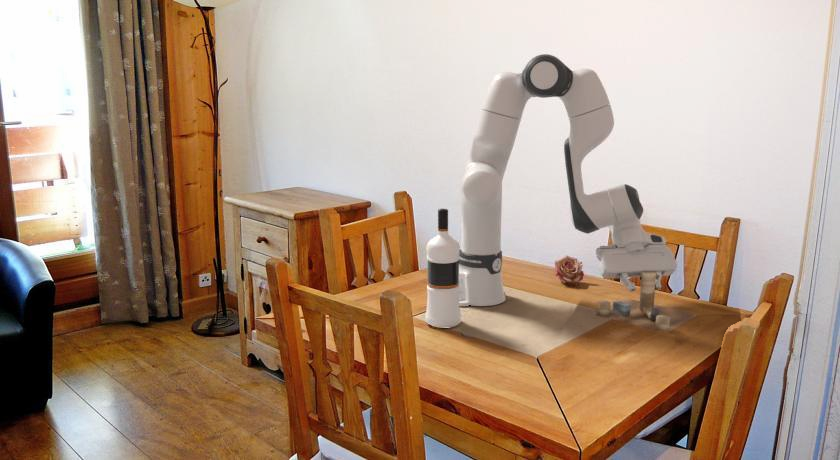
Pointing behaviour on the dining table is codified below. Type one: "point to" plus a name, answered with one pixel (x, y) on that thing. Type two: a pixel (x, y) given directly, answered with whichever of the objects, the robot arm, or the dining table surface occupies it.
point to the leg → (648, 294)
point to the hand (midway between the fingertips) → (645, 289)
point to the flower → (569, 270)
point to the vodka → (443, 277)
